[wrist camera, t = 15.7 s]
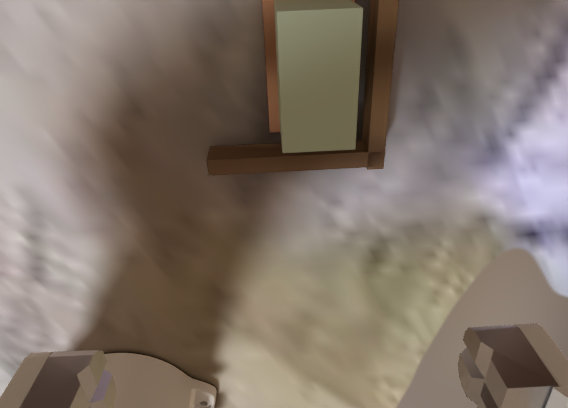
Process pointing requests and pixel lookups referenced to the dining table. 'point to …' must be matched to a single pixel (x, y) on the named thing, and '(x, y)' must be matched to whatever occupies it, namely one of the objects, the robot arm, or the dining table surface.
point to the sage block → (318, 73)
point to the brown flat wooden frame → (374, 108)
